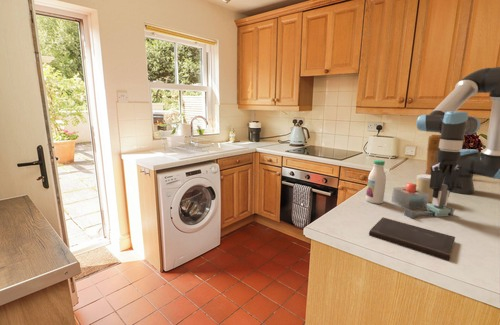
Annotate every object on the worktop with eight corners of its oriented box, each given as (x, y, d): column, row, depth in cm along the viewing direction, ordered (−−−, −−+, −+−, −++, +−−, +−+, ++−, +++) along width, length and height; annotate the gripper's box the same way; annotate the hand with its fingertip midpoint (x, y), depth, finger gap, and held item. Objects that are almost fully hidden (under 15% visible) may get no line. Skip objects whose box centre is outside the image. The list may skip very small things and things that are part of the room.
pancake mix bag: (456, 179, 171) (465, 136, 165) (422, 174, 183) (428, 133, 177) (457, 177, 176) (465, 135, 170) (423, 172, 188) (430, 133, 182)
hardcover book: (381, 222, 105) (382, 217, 104) (454, 243, 90) (455, 236, 90) (368, 236, 93) (369, 230, 93) (448, 262, 78) (450, 255, 78)
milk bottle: (381, 199, 130) (387, 159, 125) (384, 205, 122) (389, 162, 118) (364, 197, 132) (369, 158, 128) (366, 202, 125) (371, 161, 121)
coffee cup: (439, 203, 126) (443, 179, 123) (417, 202, 128) (421, 178, 125) (430, 197, 135) (434, 174, 132) (410, 195, 137) (413, 173, 134)
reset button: (409, 195, 125) (411, 182, 124) (416, 197, 121) (418, 185, 120) (402, 195, 124) (404, 183, 123) (409, 198, 120) (411, 185, 119)
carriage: (436, 211, 116) (442, 182, 113) (449, 216, 110) (455, 186, 108) (425, 211, 115) (430, 182, 112) (437, 217, 109) (443, 187, 106)
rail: (444, 211, 116) (445, 205, 115) (452, 215, 112) (454, 208, 111) (404, 214, 111) (405, 208, 111) (411, 218, 108) (412, 212, 107)
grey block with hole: (408, 200, 129) (411, 186, 128) (426, 208, 120) (428, 193, 118) (391, 201, 127) (393, 187, 126) (407, 209, 118) (410, 194, 116)
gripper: (456, 148, 112) (446, 200, 117) (424, 148, 109) (415, 202, 114) (474, 151, 105) (463, 206, 110) (441, 151, 101) (430, 209, 106)
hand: (439, 204), depth 112 cm, fingers closed on carriage, 3 cm apart
